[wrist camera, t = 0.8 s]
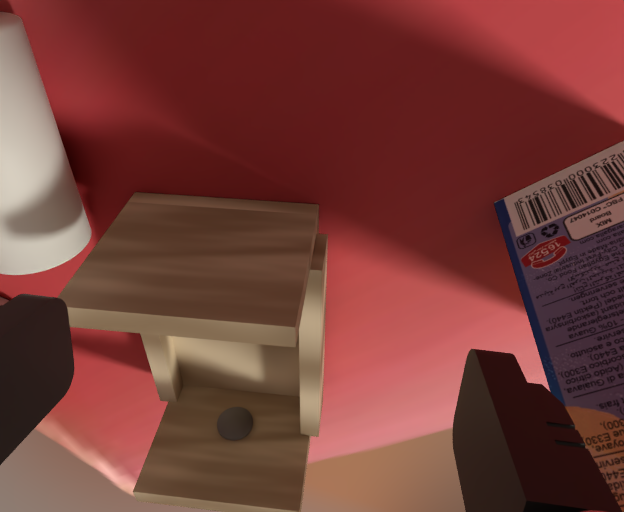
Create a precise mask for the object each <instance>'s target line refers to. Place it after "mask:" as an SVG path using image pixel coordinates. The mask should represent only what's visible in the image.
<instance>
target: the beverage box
mask: <svg viewBox="0 0 624 512" xmlns="http://www.w3.org/2000/svg"><path fill="white" fill-rule="evenodd" d="M494 206H495V209H496V212H497V216H498V219H499V222H500V226H501V229H502V232H503V236H504V239H505V242H506V246H507V249H508V252H509V256H510V259H511V262H512V265H513V269H514V272H515V275H516V279H517V282H518V285H519V289H520V292H521V295H522V299H523V302H524V305H525V309H526V312H527V315H528V319H529V322H530V325H531V328H532V332H533V335H534V338H535V342H536V345H537V348H538V352H539V355H540V358H541V362H542V365H543V368H544V372H545V375H546V378H547V382H548V385H549V388H550V391H551V393H552V394H553V395H554V396H555V397H556V398H557V399H558V400H560V401H561V402H562V403H563V404H564V406H565V408H566V410H567V411H568V413H569V415H570V417H571V419H572V420H573V422H574V424H575V430H578V431H579V433H580V435H581V437H582V439H583V441H584V442H585V448H586V449H588V450H589V451H590V453H591V455H592V457H593V459H594V461H595V462H596V464H597V466H598V468H599V470H600V472H601V473H602V475H603V477H604V479H605V481H606V482H607V484H608V486H609V488H610V490H611V492H612V493H613V495H614V497H615V499H616V501H617V503H618V504H619V506H620V508H621V510H622V512H624V141H622V142H620V143H618V144H616V145H614V146H612V147H609V148H607V149H605V150H603V151H601V152H599V153H597V154H595V155H593V156H591V157H588V158H586V159H584V160H582V161H580V162H578V163H576V164H574V165H572V166H570V167H567V168H565V169H563V170H561V171H559V172H557V173H555V174H553V175H551V176H549V177H546V178H544V179H542V180H540V181H538V182H536V183H534V184H532V185H530V186H528V187H525V188H523V189H521V190H519V191H517V192H515V193H513V194H511V195H509V196H507V197H504V198H502V199H500V200H498V201H496V202H494Z"/></svg>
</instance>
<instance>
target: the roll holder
mask: <svg viewBox="0 0 624 512" xmlns="http://www.w3.org/2000/svg"><path fill="white" fill-rule="evenodd" d="M318 229H319V204H305V203H290V202H275V201H261V200H246V199H231V198H216V197H201V196H186V195H171V194H156V193H141V192H135V193H134V194H133V195H132V197H131V198H130V200H129V201H128V202H127V204H126V205H125V206H124V208H123V209H122V210H121V212H120V213H119V214H118V216H117V217H116V219H115V220H114V221H113V223H112V224H111V225H110V227H109V228H108V229H107V231H106V232H105V233H104V235H103V236H102V238H101V239H100V240H99V242H98V243H97V244H96V246H95V247H94V248H93V250H92V251H91V252H90V254H89V255H88V257H87V258H86V259H85V261H84V262H83V263H82V265H81V266H80V267H79V269H78V270H77V271H76V273H75V274H74V276H73V277H72V278H71V280H70V281H69V282H68V284H67V285H66V286H65V288H64V289H63V291H62V292H61V293H60V295H59V296H58V297H57V298H60V299H62V300H63V301H64V302H65V304H66V306H67V309H68V316H69V325H70V327H78V328H89V329H99V330H110V331H121V332H132V333H140V334H141V338H142V341H143V344H144V348H145V351H146V354H147V358H148V361H149V364H150V368H151V371H152V374H153V377H154V381H155V384H156V387H157V391H158V394H159V397H160V401H169V402H168V405H167V407H166V410H165V412H164V415H163V417H162V420H161V422H160V425H159V427H158V430H157V432H156V435H155V437H154V440H153V442H152V445H151V447H150V450H149V453H148V455H147V458H146V460H145V463H144V465H143V468H142V470H141V473H140V475H139V478H138V480H137V483H136V485H135V488H134V490H133V493H134V495H135V497H136V500H137V501H140V502H149V503H157V504H165V505H173V506H181V507H190V508H198V509H206V510H214V511H222V512H301V507H302V499H303V492H304V483H305V475H306V469H307V461H308V453H309V446H310V438H311V436H316V437H319V428H320V419H321V411H322V402H323V379H324V346H325V312H326V279H327V246H328V234H318Z"/></svg>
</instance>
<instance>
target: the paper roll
mask: <svg viewBox="0 0 624 512" xmlns="http://www.w3.org/2000/svg"><path fill="white" fill-rule="evenodd" d="M90 238H91V228H90V225H89V222H88V219H87V216H86V213H85V210H84V207H83V204H82V201H81V197H80V194H79V191H78V188H77V185H76V182H75V179H74V176H73V173H72V170H71V167H70V164H69V161H68V158H67V155H66V152H65V149H64V146H63V143H62V140H61V137H60V134H59V131H58V128H57V124H56V121H55V118H54V115H53V112H52V109H51V106H50V103H49V100H48V97H47V94H46V91H45V88H44V85H43V82H42V79H41V76H40V73H39V70H38V67H37V64H36V61H35V58H34V55H33V52H32V48H31V45H30V42H29V39H28V36H27V33H26V30H25V27H24V24H23V21H22V18H21V17H19V16H18V15H15V14H12V13H7V12H0V273H1V274H7V275H24V274H32V273H37V272H41V271H45V270H48V269H51V268H54V267H56V266H58V265H61V264H63V263H65V262H67V261H68V260H70V259H72V258H73V257H75V256H76V255H77V254H79V253H80V252H81V251H82V250H83V249H84V248H85V246H86V245H87V244H88V242H89V240H90Z"/></svg>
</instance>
